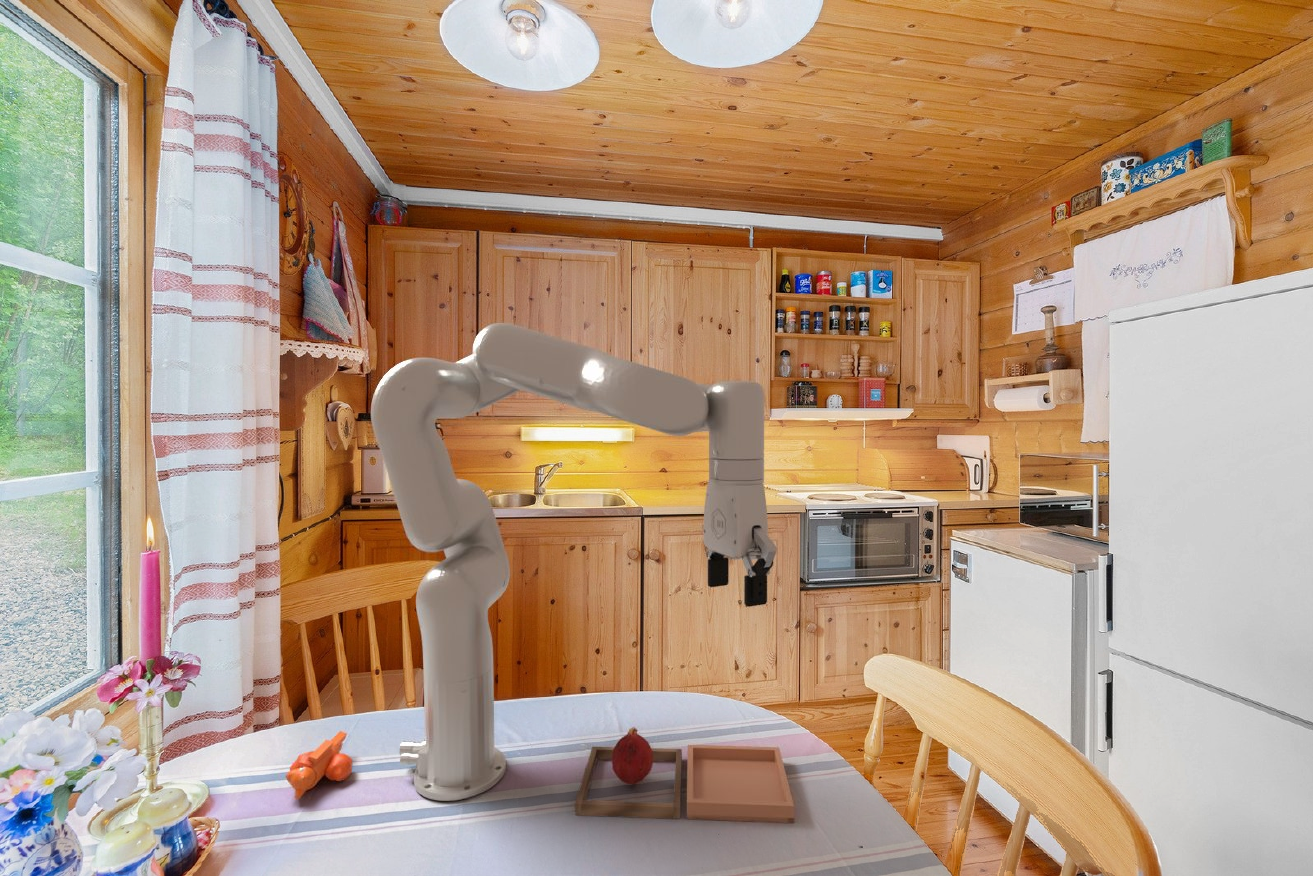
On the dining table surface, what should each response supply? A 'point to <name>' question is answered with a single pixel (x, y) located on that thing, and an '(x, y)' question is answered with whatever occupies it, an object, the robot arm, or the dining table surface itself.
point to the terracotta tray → (737, 784)
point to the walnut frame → (629, 807)
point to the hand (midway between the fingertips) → (735, 594)
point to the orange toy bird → (320, 765)
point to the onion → (632, 758)
